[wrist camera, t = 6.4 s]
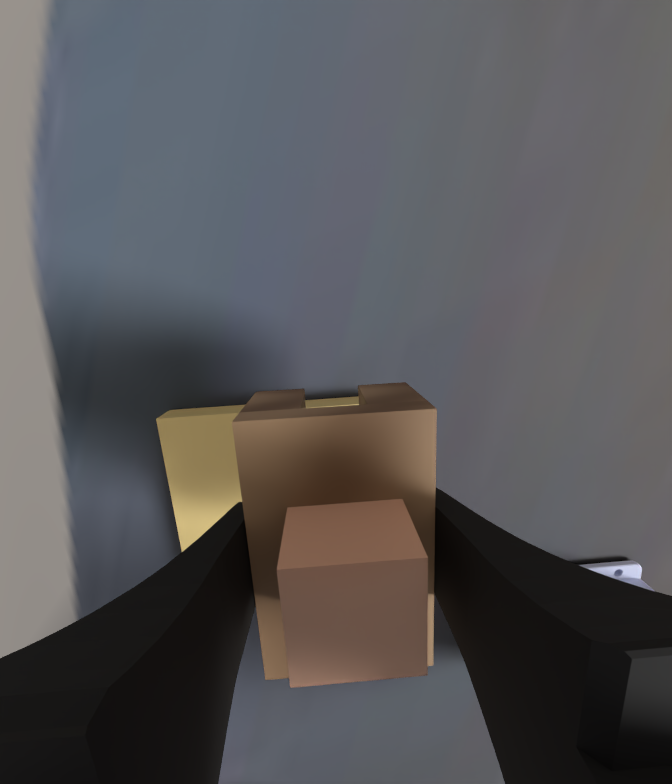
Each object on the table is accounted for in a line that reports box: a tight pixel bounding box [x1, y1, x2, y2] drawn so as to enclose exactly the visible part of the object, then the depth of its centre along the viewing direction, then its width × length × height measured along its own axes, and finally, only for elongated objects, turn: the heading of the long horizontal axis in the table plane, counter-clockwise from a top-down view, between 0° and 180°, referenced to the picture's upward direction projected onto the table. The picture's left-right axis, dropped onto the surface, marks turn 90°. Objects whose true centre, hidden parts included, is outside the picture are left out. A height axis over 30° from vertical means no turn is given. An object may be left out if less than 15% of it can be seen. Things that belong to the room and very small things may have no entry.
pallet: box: [232, 382, 437, 680], centre depth 11 cm, size 5×8×3 cm, turn 3°
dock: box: [156, 396, 359, 552], centre depth 18 cm, size 11×10×2 cm
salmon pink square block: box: [277, 499, 428, 688], centre depth 8 cm, size 3×3×2 cm
